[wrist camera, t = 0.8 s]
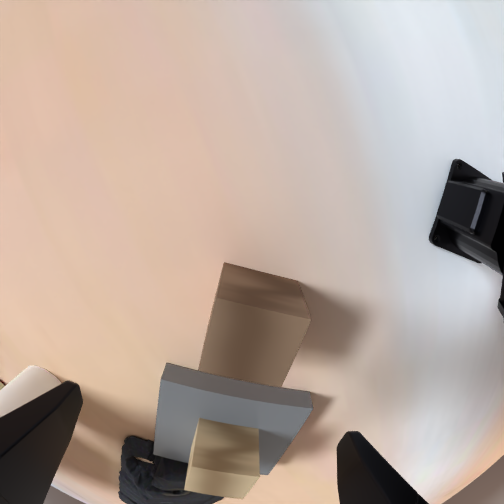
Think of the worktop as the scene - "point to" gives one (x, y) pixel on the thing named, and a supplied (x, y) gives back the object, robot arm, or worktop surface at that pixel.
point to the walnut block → (254, 326)
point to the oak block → (223, 459)
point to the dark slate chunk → (154, 477)
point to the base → (226, 412)
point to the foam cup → (26, 388)
